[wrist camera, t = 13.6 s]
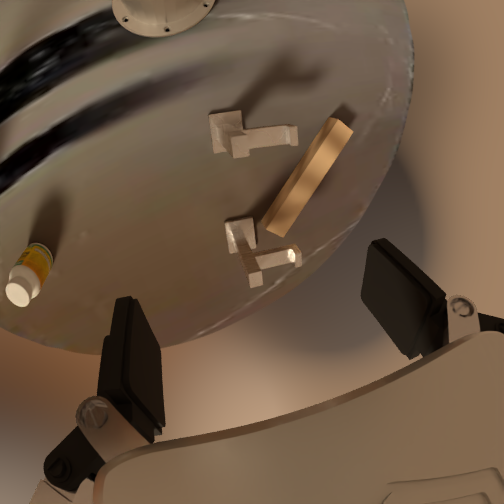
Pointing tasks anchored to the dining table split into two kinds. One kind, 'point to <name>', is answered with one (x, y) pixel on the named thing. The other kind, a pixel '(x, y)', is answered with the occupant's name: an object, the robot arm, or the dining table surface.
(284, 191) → the rail
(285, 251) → the bracket far
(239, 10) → the dining table surface
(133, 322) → the robot arm
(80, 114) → the dining table surface
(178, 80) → the dining table surface
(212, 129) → the bracket near
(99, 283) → the dining table surface
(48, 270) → the supplement bottle
